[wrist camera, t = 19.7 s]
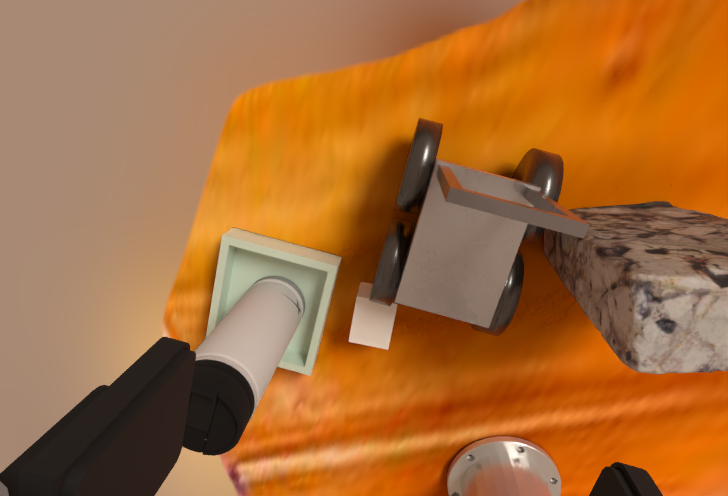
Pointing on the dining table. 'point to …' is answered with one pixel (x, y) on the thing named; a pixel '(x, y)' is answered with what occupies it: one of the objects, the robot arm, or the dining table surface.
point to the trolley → (467, 233)
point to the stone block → (651, 283)
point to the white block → (371, 320)
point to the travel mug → (240, 363)
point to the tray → (279, 258)
